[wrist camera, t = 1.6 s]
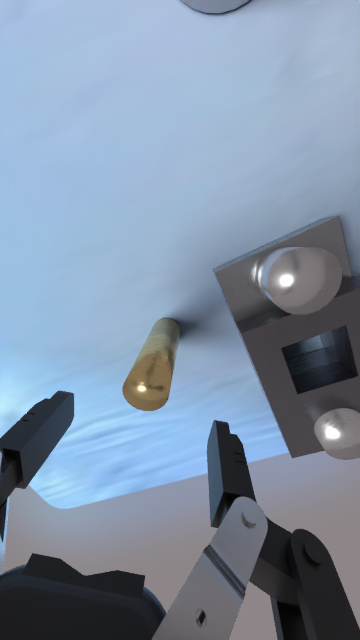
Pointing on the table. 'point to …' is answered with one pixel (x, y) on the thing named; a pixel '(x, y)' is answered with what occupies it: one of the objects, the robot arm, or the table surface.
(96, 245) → the table surface
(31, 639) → the robot arm
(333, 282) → the knobbed metal plate
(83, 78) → the table surface
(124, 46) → the table surface
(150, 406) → the brass pin
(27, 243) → the table surface
